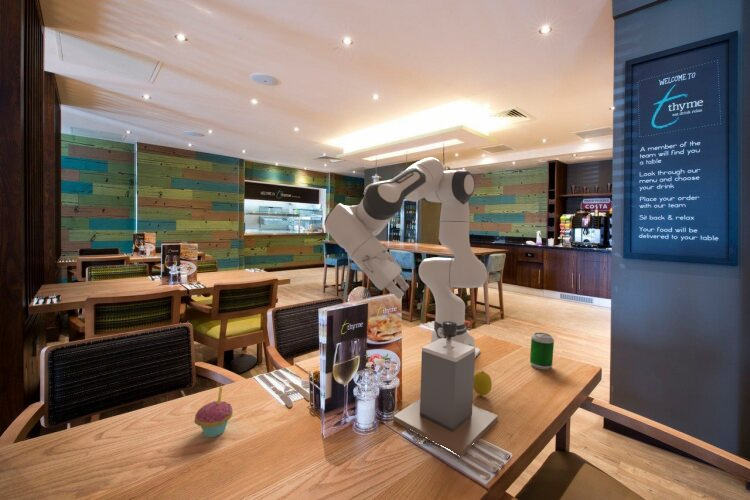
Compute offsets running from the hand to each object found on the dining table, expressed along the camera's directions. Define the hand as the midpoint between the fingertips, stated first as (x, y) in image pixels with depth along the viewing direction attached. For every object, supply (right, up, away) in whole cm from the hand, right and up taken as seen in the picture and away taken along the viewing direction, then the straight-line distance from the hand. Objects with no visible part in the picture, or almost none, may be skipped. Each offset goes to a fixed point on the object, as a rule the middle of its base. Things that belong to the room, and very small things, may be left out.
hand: (404, 292), depth 91 cm
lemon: (+25, -34, +14) cm, 44 cm away
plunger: (+11, -32, 0) cm, 34 cm away
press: (+11, -35, +1) cm, 36 cm away
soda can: (+54, -32, +36) cm, 72 cm away
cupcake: (-48, -34, -6) cm, 59 cm away
